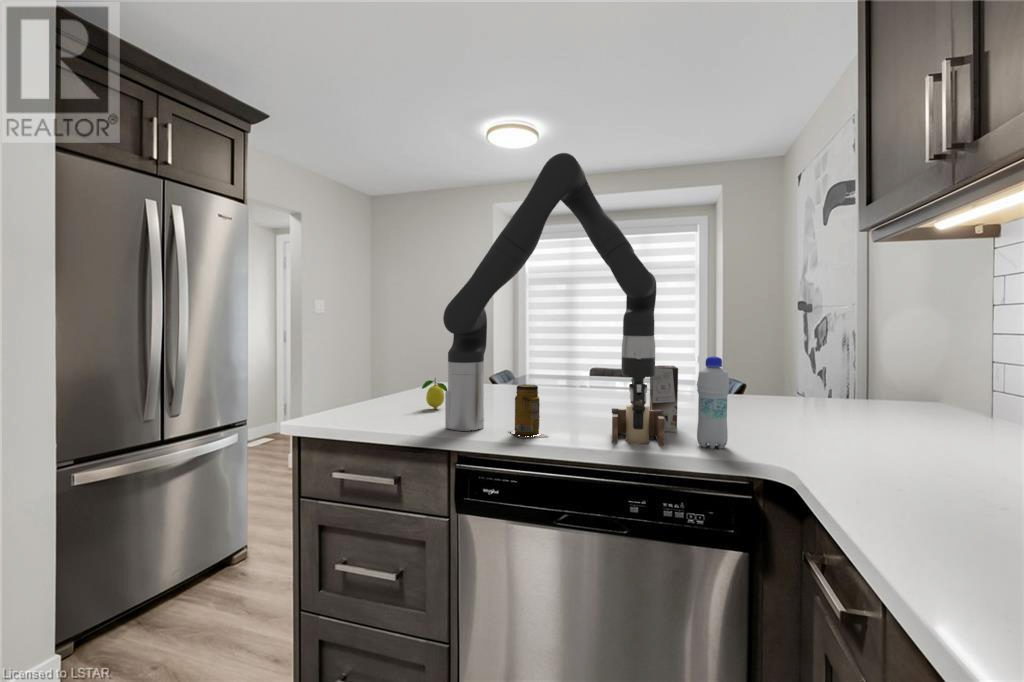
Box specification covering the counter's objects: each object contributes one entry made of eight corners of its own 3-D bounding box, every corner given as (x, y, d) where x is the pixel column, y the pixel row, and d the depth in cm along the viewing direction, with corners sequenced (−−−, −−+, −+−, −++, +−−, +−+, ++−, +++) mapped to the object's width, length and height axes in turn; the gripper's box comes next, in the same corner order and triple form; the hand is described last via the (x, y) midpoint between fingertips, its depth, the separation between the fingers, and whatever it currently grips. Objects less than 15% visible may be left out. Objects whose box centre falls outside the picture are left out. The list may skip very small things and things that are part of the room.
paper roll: (625, 442, 115) (626, 407, 115) (625, 437, 120) (626, 403, 120) (649, 444, 114) (650, 408, 114) (648, 438, 119) (648, 404, 119)
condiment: (534, 430, 129) (534, 383, 128) (548, 437, 121) (548, 387, 120) (507, 432, 126) (507, 384, 126) (520, 439, 118) (520, 388, 118)
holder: (611, 442, 115) (611, 412, 114) (611, 432, 126) (612, 404, 125) (665, 445, 112) (665, 414, 112) (661, 434, 123) (661, 406, 123)
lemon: (421, 410, 157) (421, 378, 156) (427, 407, 162) (427, 376, 162) (442, 410, 156) (442, 378, 155) (447, 407, 161) (447, 376, 161)
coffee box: (678, 432, 126) (678, 368, 125) (651, 431, 127) (652, 367, 127) (673, 425, 135) (674, 365, 134) (648, 424, 136) (649, 364, 136)
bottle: (727, 444, 114) (728, 355, 113) (729, 451, 107) (731, 357, 107) (695, 441, 116) (696, 355, 115) (696, 448, 110) (697, 357, 109)
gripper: (621, 353, 124) (620, 418, 125) (621, 357, 110) (620, 431, 111) (653, 353, 122) (652, 420, 123) (657, 357, 108) (656, 432, 109)
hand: (637, 425), depth 117 cm, fingers open, 8 cm apart
